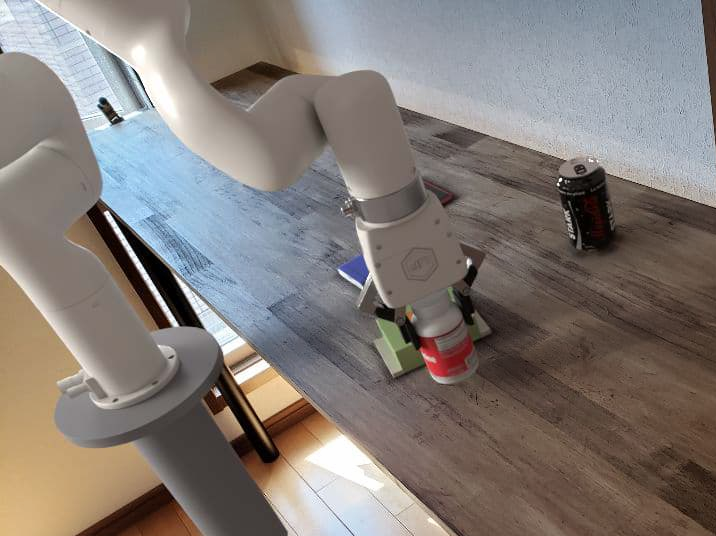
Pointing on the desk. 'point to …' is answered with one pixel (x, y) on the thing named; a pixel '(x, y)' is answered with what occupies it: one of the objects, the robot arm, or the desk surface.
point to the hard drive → (355, 271)
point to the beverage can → (586, 204)
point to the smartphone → (438, 193)
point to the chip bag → (405, 355)
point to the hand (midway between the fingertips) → (441, 331)
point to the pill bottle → (444, 338)
